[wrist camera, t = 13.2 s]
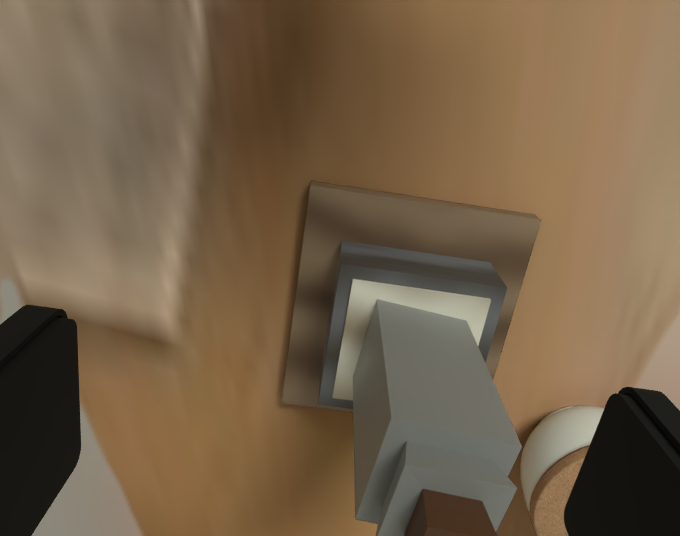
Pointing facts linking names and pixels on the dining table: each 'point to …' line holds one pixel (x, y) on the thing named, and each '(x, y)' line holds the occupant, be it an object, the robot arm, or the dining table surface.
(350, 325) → the stand
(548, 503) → the lidded bowl
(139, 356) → the dining table surface
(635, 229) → the dining table surface
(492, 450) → the perfume bottle
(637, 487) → the robot arm
